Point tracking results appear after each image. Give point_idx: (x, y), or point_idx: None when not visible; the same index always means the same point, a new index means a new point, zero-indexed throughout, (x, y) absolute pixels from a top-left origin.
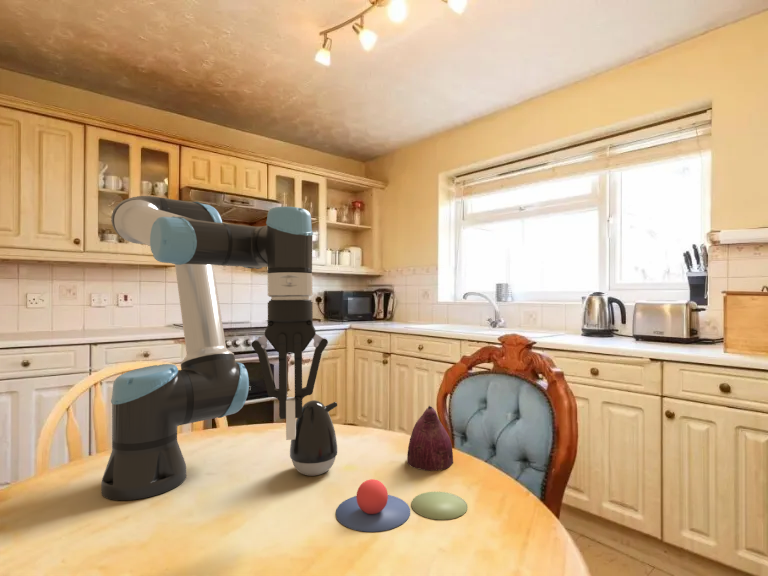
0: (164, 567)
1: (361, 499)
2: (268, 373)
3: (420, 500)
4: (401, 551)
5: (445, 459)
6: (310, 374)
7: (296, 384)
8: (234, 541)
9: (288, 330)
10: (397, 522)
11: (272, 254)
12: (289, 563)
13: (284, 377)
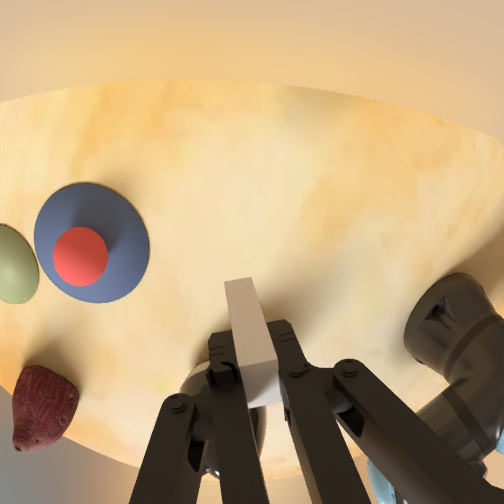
0: (378, 105)
1: (92, 236)
2: (401, 435)
3: (27, 278)
4: (38, 135)
5: (19, 378)
6: (170, 476)
7: (241, 426)
8: (304, 157)
9: None
10: (46, 211)
11: None
12: (200, 93)
13: (313, 444)
